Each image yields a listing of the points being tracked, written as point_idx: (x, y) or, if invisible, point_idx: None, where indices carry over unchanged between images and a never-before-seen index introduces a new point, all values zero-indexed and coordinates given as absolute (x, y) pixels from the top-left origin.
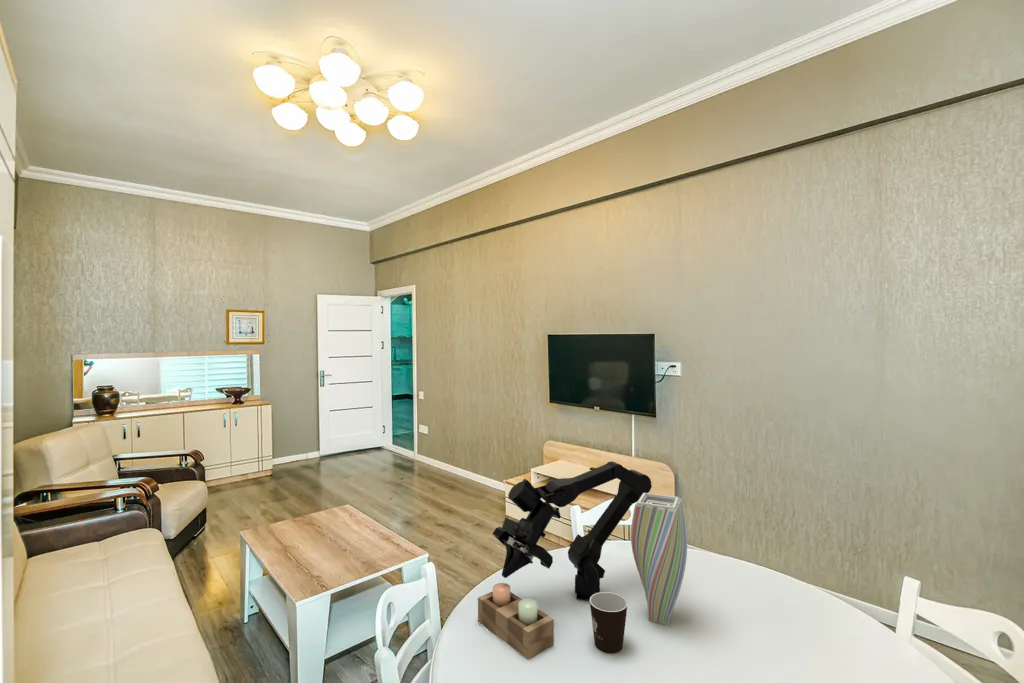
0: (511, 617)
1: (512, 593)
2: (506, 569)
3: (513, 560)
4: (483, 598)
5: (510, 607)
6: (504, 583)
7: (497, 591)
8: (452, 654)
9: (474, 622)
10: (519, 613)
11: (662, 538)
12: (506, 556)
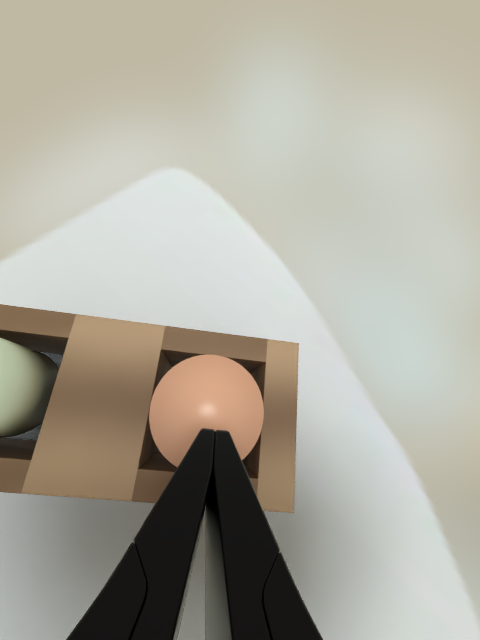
0: (62, 329)
1: None
2: (193, 471)
3: (106, 618)
4: (274, 353)
5: (119, 387)
6: None
7: (193, 357)
8: (205, 217)
9: None
10: (1, 338)
11: None
12: (304, 629)
